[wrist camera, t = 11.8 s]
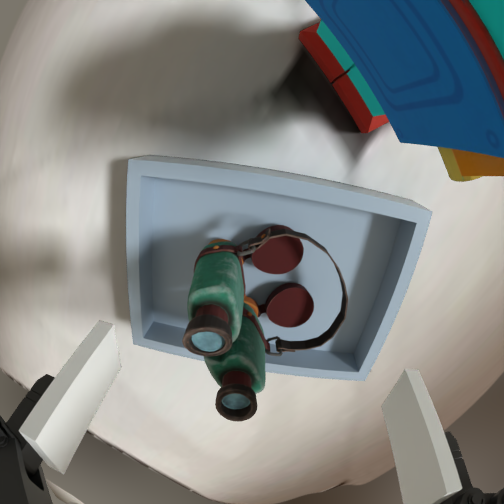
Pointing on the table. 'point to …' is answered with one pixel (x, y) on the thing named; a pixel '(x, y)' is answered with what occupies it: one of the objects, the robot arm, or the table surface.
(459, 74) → the toy robot
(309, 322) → the light blue rectangular tray
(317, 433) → the table surface
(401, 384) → the robot arm
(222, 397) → the binoculars
